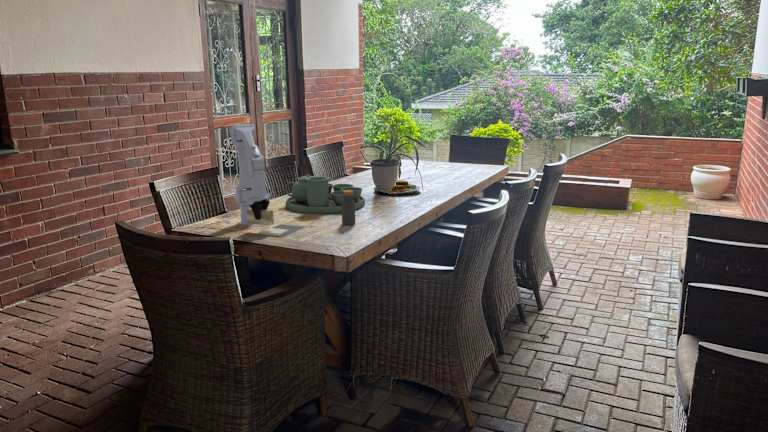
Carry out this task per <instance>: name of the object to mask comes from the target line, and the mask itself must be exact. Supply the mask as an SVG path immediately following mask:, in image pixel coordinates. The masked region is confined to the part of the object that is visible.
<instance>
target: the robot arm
mask: <svg viewBox="0 0 768 432" xmlns="http://www.w3.org/2000/svg"><path fill="white" fill-rule="evenodd" d="M229 130H230V131H229V132H230V133H229V134H230V141H231V142H232V143H231V144H232V145H234V146H235V148H236V151H237V159H238V165H239V167H238V169H239V174H240V175H239V177H240V183H238V185H237V186H236V187H235V202H236V203H237V204H238V205H239V210H240V222H237V225H246V226H254V225H255V224H248V223H247V209H250V208H251V209H252V211H253V213H254V217H255V219H256V220H260V218H261V209H267V210H268V207H269V205H270V203H271V201H270V200H271V199H272V194H271V193H267V189H266V187H267V186H266V184H267V183H266V171H267V160H266V158H265V155H262V153H261V151H260V148H259V146H258V145H257V144H255V141H254V140H255V137H256V127H255V125H254V124H253V123H247V124H246V123H245V124H243V123H242V124H241V123H240V124H233V123H232V124H231V126H230V129H229Z"/></svg>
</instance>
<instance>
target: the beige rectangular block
mask: <svg viewBox="0 0 768 432" xmlns="http://www.w3.org/2000/svg"><path fill="white" fill-rule="evenodd" d="M274 217H275V216H274V210H273V209H268V208H267V209H261V218H260V220H256V219H255V217H254V213H253V211H252V209H251V208H250V209H247V223H248V224H252V225H253V224H254V225H259V226H267V227H268V226H269V227H270V226H274V225H275V220H274V219H275V218H274Z"/></svg>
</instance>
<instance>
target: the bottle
mask: <svg viewBox="0 0 768 432" xmlns="http://www.w3.org/2000/svg"><path fill="white" fill-rule="evenodd" d="M342 197H343V198H344V200H342V212H341V223H342V226H347V227H351V226H355V225H356V210H355V200H353V197H354V195H353V191H352V190H344V191H343V195H342Z"/></svg>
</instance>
